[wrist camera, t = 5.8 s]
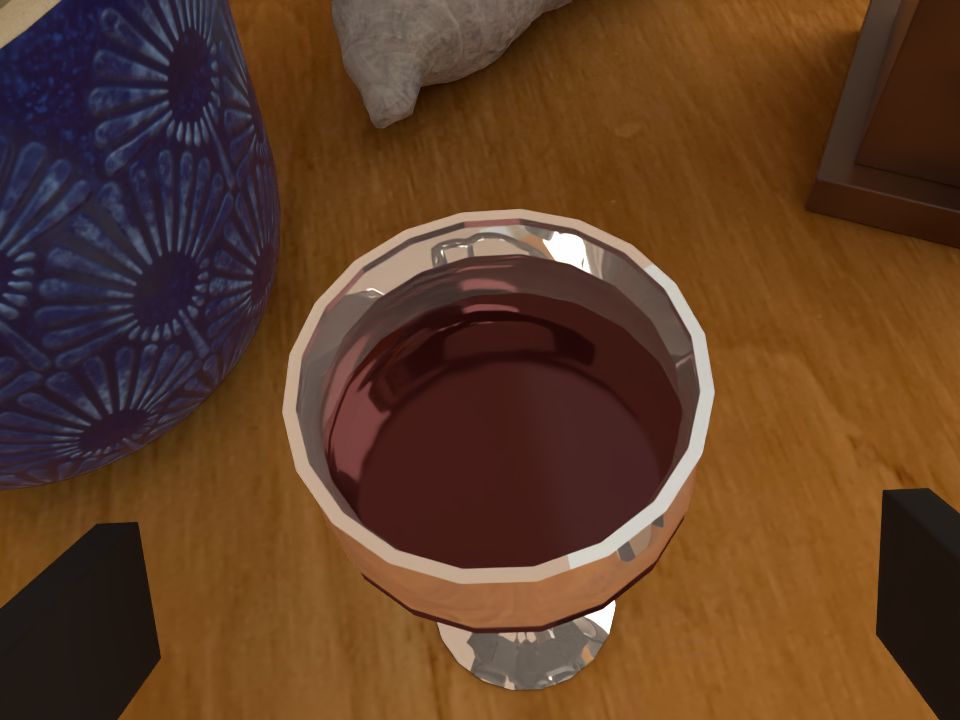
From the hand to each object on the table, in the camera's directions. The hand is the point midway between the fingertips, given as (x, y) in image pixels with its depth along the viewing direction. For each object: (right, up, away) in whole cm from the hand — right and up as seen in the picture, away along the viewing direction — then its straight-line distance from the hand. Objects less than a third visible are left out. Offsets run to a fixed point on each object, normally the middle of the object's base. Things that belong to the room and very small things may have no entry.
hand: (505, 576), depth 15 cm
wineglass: (+1, -3, +8) cm, 9 cm away
